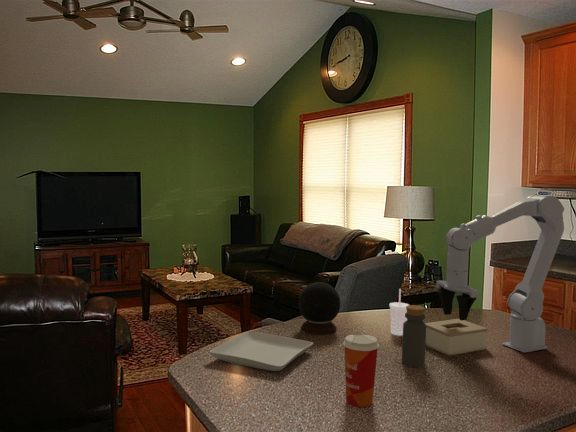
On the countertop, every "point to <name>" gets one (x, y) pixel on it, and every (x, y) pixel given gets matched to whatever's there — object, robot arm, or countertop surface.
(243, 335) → the salad plate
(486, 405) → the countertop surface
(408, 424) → the countertop surface
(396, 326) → the beverage cup
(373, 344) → the paper cup
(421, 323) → the bottle
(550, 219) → the robot arm
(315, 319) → the black ball on stand
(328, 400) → the countertop surface
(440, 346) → the cream box with slot
